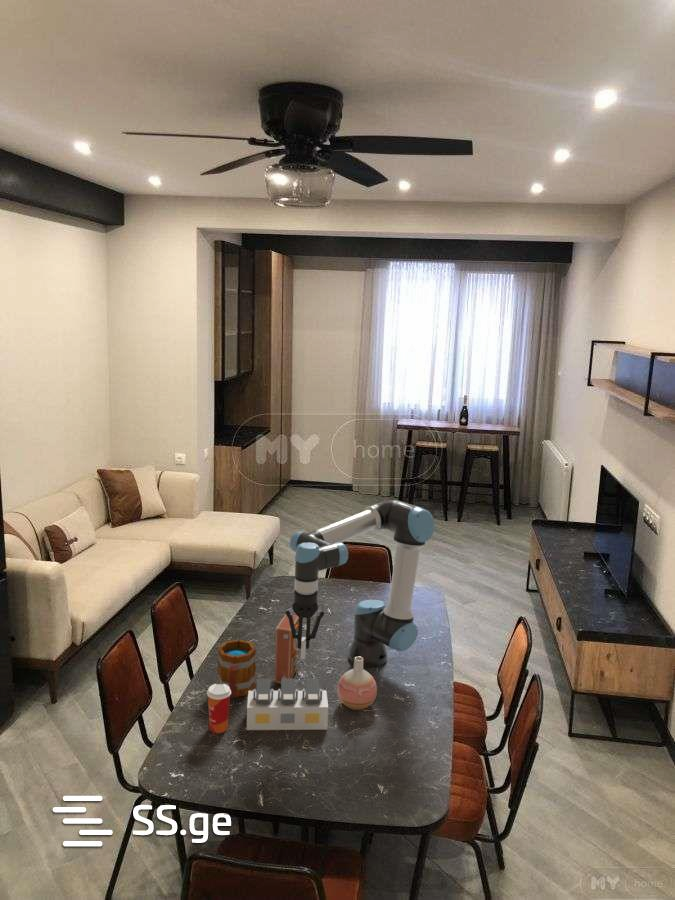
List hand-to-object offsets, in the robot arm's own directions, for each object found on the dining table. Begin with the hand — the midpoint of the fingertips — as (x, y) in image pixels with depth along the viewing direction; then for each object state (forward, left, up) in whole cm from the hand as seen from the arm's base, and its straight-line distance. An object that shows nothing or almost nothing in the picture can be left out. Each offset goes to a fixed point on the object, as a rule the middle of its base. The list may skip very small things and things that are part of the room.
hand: (302, 657), depth 233 cm
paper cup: (+27, +9, -21) cm, 35 cm away
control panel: (+5, -24, -21) cm, 32 cm away
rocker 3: (-3, +5, -10) cm, 11 cm away
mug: (+23, -13, -21) cm, 33 cm away
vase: (-19, -4, -21) cm, 28 cm away
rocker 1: (+13, +5, -10) cm, 17 cm away
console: (+5, +5, -20) cm, 21 cm away
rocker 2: (+5, +5, -10) cm, 12 cm away
